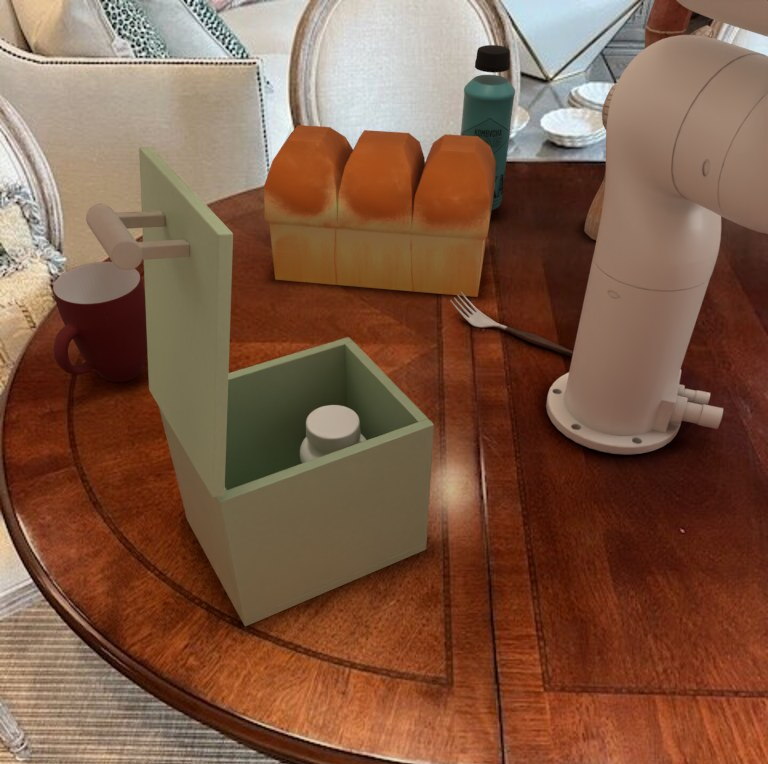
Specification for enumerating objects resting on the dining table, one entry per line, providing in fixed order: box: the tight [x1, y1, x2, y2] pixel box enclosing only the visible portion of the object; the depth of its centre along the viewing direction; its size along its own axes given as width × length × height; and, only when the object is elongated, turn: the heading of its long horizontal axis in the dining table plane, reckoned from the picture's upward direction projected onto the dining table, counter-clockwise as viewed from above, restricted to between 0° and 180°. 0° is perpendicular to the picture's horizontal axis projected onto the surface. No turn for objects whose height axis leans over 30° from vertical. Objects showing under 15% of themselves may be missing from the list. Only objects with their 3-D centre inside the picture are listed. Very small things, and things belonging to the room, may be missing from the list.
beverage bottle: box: [459, 44, 516, 211], centre depth 99 cm, size 6×7×20 cm
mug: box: [52, 261, 148, 383], centre depth 75 cm, size 11×8×10 cm
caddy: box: [158, 336, 435, 627], centre depth 59 cm, size 16×13×13 cm
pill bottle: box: [300, 405, 367, 464], centre depth 61 cm, size 5×5×10 cm
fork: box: [449, 292, 574, 357], centre depth 84 cm, size 3×16×2 cm, turn 52°
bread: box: [263, 124, 496, 298], centre depth 91 cm, size 25×12×15 cm, turn 81°
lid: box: [85, 146, 234, 497], centre depth 46 cm, size 16×13×5 cm
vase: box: [583, 0, 715, 241], centre depth 92 cm, size 10×7×30 cm
